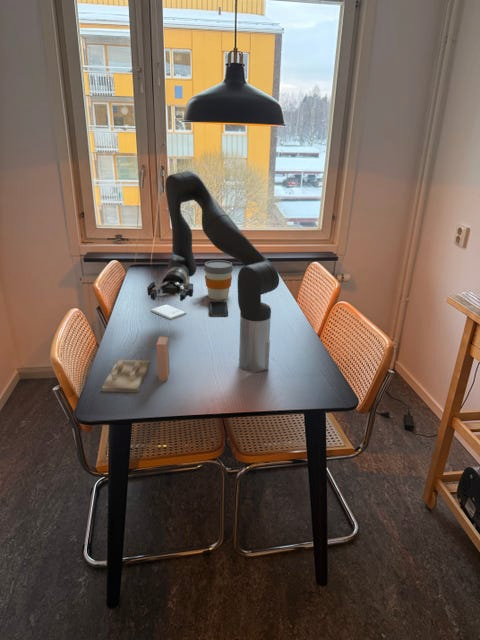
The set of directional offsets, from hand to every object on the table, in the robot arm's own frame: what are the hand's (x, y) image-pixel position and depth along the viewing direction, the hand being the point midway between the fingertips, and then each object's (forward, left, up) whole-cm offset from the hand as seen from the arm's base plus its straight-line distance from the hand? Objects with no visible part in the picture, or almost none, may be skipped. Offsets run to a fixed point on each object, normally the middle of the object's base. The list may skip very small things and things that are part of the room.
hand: (167, 297), depth 130 cm
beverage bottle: (+6, -67, -21) cm, 70 cm away
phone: (-13, -43, -22) cm, 50 cm away
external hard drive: (+7, -38, -22) cm, 44 cm away
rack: (+11, +12, -21) cm, 27 cm away
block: (0, +11, -21) cm, 24 cm away
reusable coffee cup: (-12, -59, -21) cm, 64 cm away
